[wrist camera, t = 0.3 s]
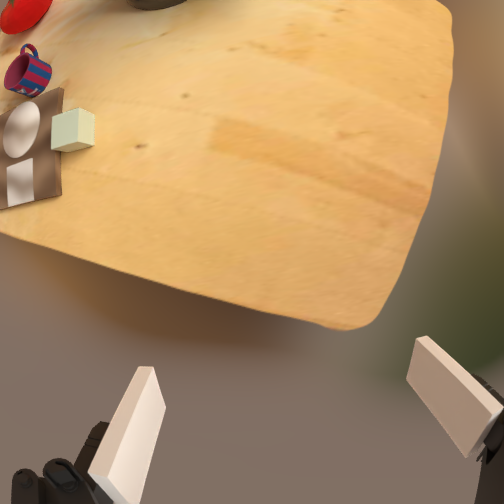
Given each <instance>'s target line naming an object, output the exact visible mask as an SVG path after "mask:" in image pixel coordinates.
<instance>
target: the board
mask: <svg viewBox="0 0 504 504" xmlns="http://www.w3.org/2000/svg"><path fill="white" fill-rule="evenodd" d="M63 95H64V89H62V88H60V87H58V88H56V89H54V90H51V91H49V92H47V93H44V94H42V95H40V96H38V97H35V98H33V99H31V100H29V101H27V102H23V103H21V104H20V105H18V106H17V107H15V108H13V109H11V110H9V111H8V112H6V113H4V114H2V115H0V210H2V209H5V208H9V207H13V206H17V205H20V204H24V203H28V202H32V201H37V200H41V199H45V198H50V197H54V196H59V195H62V188H61V151H58V150H52V149H51V131H52V117H53V116H56V115H58V114H61V113H62V105H63Z"/></svg>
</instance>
